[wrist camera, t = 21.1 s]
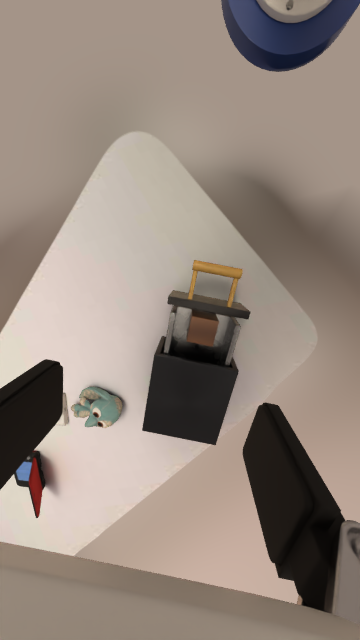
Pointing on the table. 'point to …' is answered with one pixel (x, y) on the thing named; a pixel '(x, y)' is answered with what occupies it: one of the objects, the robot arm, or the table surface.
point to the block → (202, 328)
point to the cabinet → (188, 397)
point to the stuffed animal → (98, 407)
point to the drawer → (221, 308)
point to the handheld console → (32, 479)
